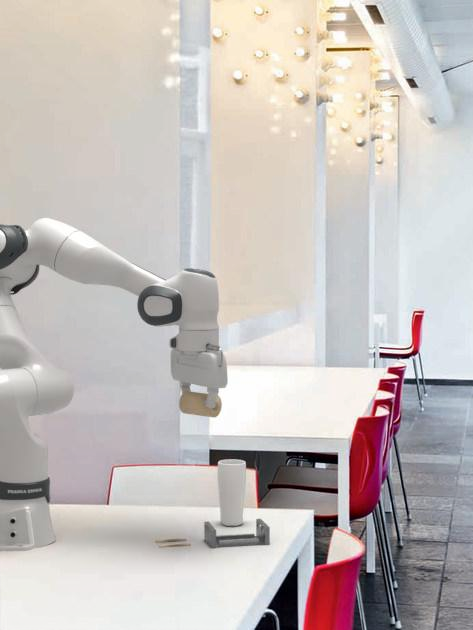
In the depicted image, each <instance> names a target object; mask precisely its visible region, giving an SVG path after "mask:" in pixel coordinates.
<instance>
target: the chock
mask: <svg viewBox="0 0 473 630" xmlns="http://www.w3.org/2000/svg"><path fill="white" fill-rule="evenodd" d="M177 542H178V543H177ZM179 542H188V539H187V538H186V537H185V538H172V539H171V538H170V539H167V538H166V539H155V542H154V543H156V544H160V545H158V548H176V547H190V546H192V545H191V543H179ZM163 543H175V544H163ZM176 543H177V544H176Z"/></svg>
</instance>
